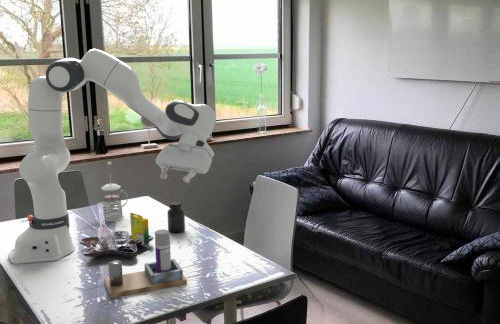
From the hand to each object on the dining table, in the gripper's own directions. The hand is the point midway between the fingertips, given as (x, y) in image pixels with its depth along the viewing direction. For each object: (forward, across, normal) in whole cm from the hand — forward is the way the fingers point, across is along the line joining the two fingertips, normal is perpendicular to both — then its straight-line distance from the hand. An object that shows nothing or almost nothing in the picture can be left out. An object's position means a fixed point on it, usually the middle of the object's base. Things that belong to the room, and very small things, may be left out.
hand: (173, 179), depth 178 cm
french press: (+2, -54, +41) cm, 68 cm away
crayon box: (+14, -25, +29) cm, 41 cm away
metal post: (+37, -5, +4) cm, 38 cm away
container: (+29, +4, +12) cm, 32 cm away
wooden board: (+33, 0, +10) cm, 34 cm away
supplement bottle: (+3, -20, +40) cm, 45 cm away
